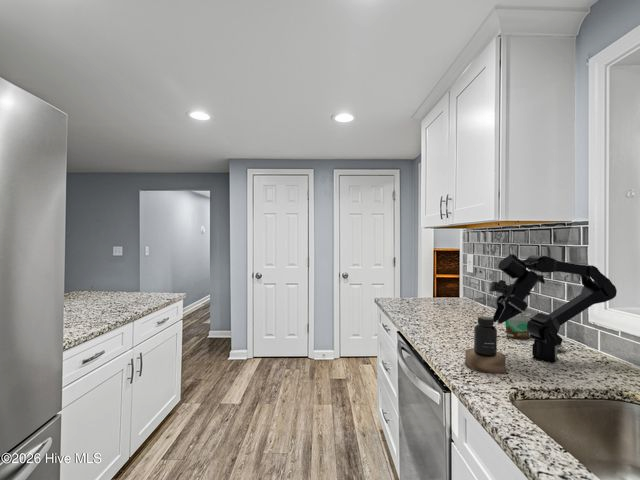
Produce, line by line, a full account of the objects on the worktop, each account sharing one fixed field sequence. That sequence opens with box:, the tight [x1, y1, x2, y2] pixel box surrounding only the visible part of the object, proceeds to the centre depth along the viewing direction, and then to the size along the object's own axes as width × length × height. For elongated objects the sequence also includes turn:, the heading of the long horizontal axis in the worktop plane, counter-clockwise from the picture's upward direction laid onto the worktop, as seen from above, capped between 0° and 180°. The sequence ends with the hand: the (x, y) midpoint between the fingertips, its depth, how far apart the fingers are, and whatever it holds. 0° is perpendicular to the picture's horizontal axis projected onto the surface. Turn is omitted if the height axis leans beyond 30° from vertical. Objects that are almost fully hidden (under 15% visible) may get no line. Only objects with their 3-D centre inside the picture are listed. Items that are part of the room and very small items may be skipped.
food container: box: [504, 312, 533, 340], centre depth 145 cm, size 12×6×10 cm, turn 105°
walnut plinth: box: [464, 347, 507, 374], centre depth 113 cm, size 12×12×4 cm
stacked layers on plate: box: [557, 335, 564, 350], centre depth 129 cm, size 10×9×6 cm
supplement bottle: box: [473, 316, 498, 357], centre depth 113 cm, size 7×7×12 cm
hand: (495, 322), depth 119 cm, fingers open, 9 cm apart
